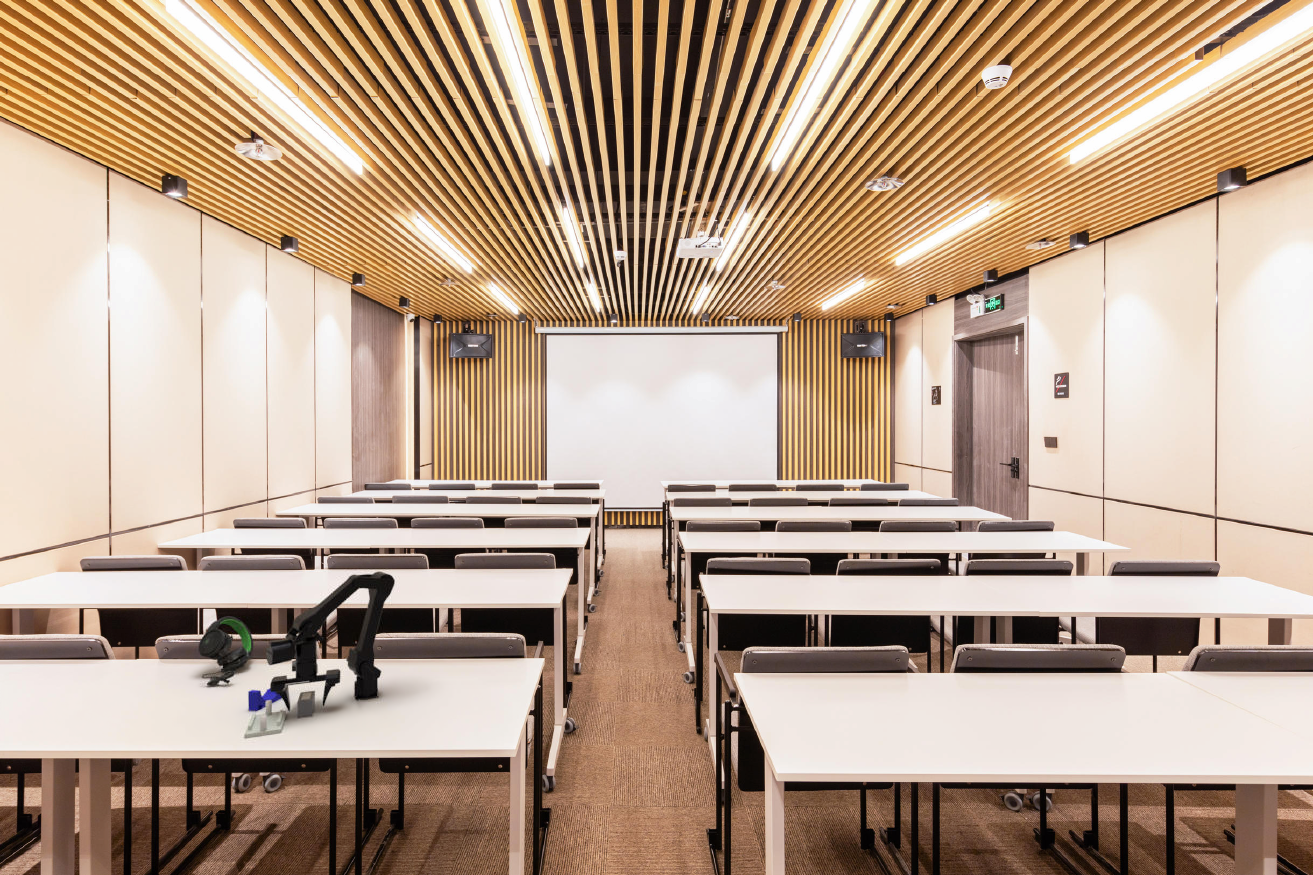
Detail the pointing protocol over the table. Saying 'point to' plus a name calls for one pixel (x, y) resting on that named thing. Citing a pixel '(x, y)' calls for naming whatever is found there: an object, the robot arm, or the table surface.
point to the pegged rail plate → (266, 722)
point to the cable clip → (260, 699)
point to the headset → (226, 648)
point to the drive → (306, 704)
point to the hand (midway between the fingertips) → (306, 708)
